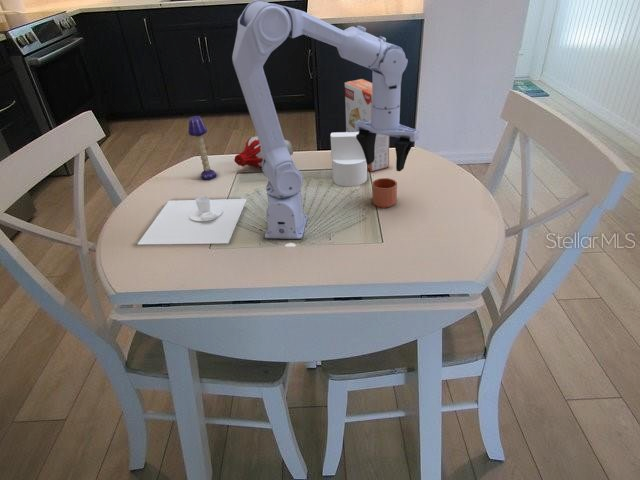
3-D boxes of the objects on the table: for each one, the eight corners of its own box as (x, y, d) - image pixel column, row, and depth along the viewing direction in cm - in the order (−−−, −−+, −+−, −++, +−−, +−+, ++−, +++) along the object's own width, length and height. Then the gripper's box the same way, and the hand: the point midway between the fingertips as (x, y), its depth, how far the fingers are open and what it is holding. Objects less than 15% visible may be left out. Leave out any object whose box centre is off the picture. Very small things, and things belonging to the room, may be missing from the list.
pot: (396, 208, 105) (397, 189, 102) (371, 208, 106) (371, 188, 103) (396, 197, 109) (396, 178, 107) (372, 197, 110) (372, 178, 107)
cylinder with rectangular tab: (367, 171, 123) (367, 127, 116) (366, 186, 115) (366, 140, 109) (333, 171, 124) (331, 128, 117) (331, 186, 116) (328, 141, 110)
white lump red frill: (297, 163, 129) (250, 184, 123) (277, 151, 137) (233, 170, 131) (290, 133, 123) (241, 154, 118) (271, 123, 131) (224, 142, 126)
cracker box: (345, 155, 133) (343, 81, 121) (363, 151, 134) (363, 77, 123) (370, 173, 122) (370, 93, 110) (389, 168, 124) (391, 89, 112)
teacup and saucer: (217, 224, 103) (214, 208, 101) (183, 225, 104) (179, 209, 102) (226, 205, 111) (223, 190, 109) (194, 206, 111) (191, 191, 109)
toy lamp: (214, 180, 124) (202, 119, 114) (197, 181, 124) (183, 121, 115) (217, 173, 128) (206, 113, 118) (201, 174, 128) (188, 114, 119)
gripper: (426, 104, 94) (422, 166, 101) (366, 96, 102) (366, 153, 109) (410, 114, 89) (407, 178, 97) (348, 104, 97) (350, 164, 104)
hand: (385, 166), depth 102 cm, fingers open, 7 cm apart
